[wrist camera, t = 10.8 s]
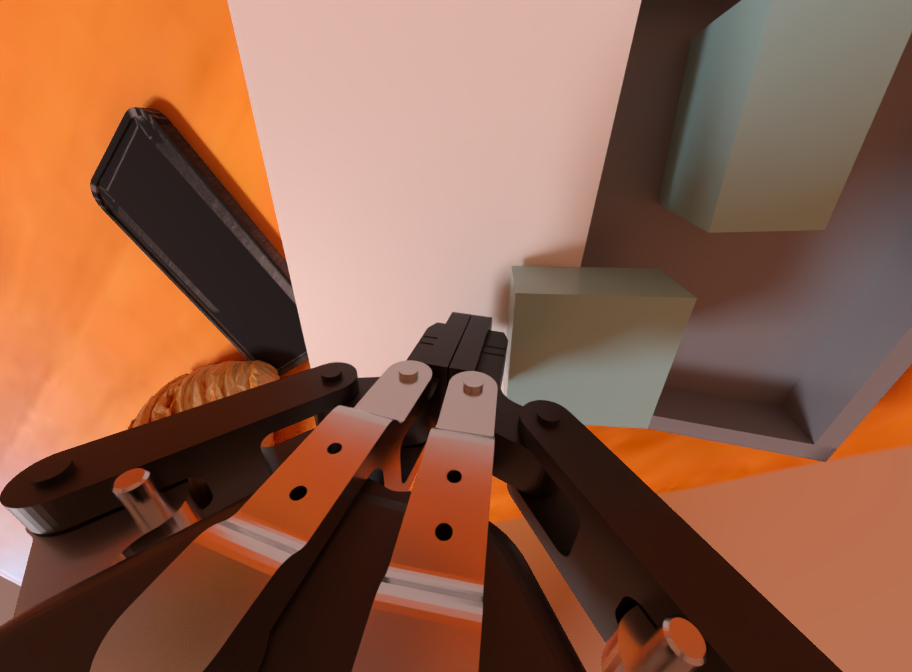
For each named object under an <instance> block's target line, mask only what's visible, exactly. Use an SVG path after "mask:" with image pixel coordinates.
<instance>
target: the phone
mask: <svg viewBox="0 0 912 672" xmlns="http://www.w3.org/2000/svg"><path fill="white" fill-rule="evenodd" d="M90 186H91V191H92V194H93V197H94V198H95V200H96V202H97V203H98V205H99V206H100V207H101V208H102V209H103V211H104V212H105V213H106V214H107V215H108V216H109V217H110V218H111V219H112V220H113V221H114V222H115V223H116V224H117V225H118V226H119V227H120V228H121V229H122V230H123V231H124V232H125V233H126V234H127V235H128V236H129V237H130V238H131V239H132V240H133V242H134V243H135V244H136V245H137V246H138V247H139V248H140V249H141V250H142V251H143V252H144V253H145V254H146V255H147V256H148V257H149V258H150V259H151V260H152V261H153V262H154V263H155V264H156V265H157V266H158V267H159V268H160V269H161V270H162V271H163V273H164V274H165V275H166V276H167V277H168V278H169V279H170V280H171V281H172V282H173V283H174V284H175V285H176V286H177V287H178V288H179V289H180V290H181V291H182V292H183V293H184V294H185V295H186V296H187V297H188V298H189V299H190V300H191V302H192V303H193V304H194V305H195V306H196V307H197V308H198V309H199V310H200V311H201V312H202V313H203V314H204V315H205V316H206V317H207V318H208V319H209V320H210V321H211V322H212V323H213V324H214V325H215V326H216V327H217V328H218V329H219V330H220V332H221V333H222V334H223V335H224V336H225V337H226V338H227V339H228V340H229V341H230V342H231V343H232V344H233V345H234V346H235V347H236V348H237V349H238V350H239V351H240V352H241V353H242V354H243V355H244V356H245V357H246V358H247V359H248V360H249V361H255V360H260V361H263V362H266V363H268V364H270V365H271V366H273V367H274V368H276V369H277V371H278V375H279V376H281V375H283V374H284V373H286V372H288V371H289V370H291V369H293V368H294V367H296V366H298V365H299V364H301V363H303V362H304V361H306V360H308V359H309V358H308V354H307V349H306V345H305V341H304V336H303V332H302V327H301V323H300V319H299V314H298V310H297V305H296V301H295V297H294V292H293V288H292V283H291V279H290V274H289V270H288V266H287V262H286V261H285V260H284V259H283V258H282V256H281V255H280V254H279V253H278V251H277V250H276V249H275V248H274V247H273V245H272V244H271V243H270V242H269V241H268V239H267V238H266V237H265V236H264V235H263V233H262V232H261V231H260V230H259V228H258V227H257V226H256V225H255V224H254V222H253V221H252V220H251V219H250V218H249V216H248V215H247V214H246V213H245V212H244V210H243V209H242V208H241V207H240V205H239V204H238V203H237V202H236V201H235V199H234V198H233V197H232V196H231V195H230V193H229V192H228V191H227V190H226V189H225V187H224V186H223V185H222V184H221V182H220V181H219V180H218V179H217V178H216V176H215V175H214V174H213V173H212V172H211V170H210V169H209V168H208V167H207V166H206V164H205V163H204V162H203V161H202V159H201V158H200V157H199V156H198V155H197V153H196V152H195V151H194V150H193V149H192V147H191V146H190V145H189V144H188V143H187V141H186V140H185V139H184V138H183V136H182V135H181V134H180V133H179V132H178V130H177V129H176V128H175V127H174V126H173V124H172V123H171V122H170V121H169V120H168V119H167V118H166V117H165V116H164V115H163V114H162V113H160V112H159V111H157V110H154V109H149V108H137V107H134V108H130V109H128V110H127V112H126V113H125V115H124V117H123V118H122V120H121V122H120V124H119V126H118V128H117V130H116V132H115V134H114V136H113V138H112V140H111V142H110V144H109V146H108V148H107V150H106V152H105V154H104V156H103V158H102V160H101V162H100V163H99V165H98V167H97V169H96V171H95V173H94V175H93V177H92V179H91V183H90Z"/></svg>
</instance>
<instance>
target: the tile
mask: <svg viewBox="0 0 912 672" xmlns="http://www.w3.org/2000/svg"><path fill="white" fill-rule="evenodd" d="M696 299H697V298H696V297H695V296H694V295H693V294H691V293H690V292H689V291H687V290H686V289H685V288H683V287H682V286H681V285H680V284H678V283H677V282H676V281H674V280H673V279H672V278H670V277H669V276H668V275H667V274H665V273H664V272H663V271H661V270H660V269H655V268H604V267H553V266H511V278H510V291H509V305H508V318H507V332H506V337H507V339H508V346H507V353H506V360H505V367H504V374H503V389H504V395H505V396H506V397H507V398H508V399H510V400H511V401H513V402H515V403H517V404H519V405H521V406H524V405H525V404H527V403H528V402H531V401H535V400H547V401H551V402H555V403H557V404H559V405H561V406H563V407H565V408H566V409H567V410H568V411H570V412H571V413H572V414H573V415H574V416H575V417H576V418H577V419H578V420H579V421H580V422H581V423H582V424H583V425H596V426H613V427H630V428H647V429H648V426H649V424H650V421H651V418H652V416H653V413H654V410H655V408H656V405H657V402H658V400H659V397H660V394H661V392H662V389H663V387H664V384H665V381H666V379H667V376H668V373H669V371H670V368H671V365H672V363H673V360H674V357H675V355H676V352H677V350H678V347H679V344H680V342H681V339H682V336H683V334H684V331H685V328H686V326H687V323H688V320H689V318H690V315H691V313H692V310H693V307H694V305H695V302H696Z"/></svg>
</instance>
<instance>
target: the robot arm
mask: <svg viewBox="0 0 912 672" xmlns="http://www.w3.org/2000/svg"><path fill="white" fill-rule="evenodd" d="M491 328H492V317H486V316H479V315H472V314H465V313H458V312H452V313H451V315H450V317H449V319H448V320H447V322H446V324H445V323H438V322H437V323H435V324H433V325H432V326H430V327H428V328H427V329H426V331H425V333H424V334H423V337H421V339H420V340H419V343H417V345H416V346H415V348H414V349H413V351H412V352H411V354H410V355H409V357H408V358H407V360H406V361H401V362H397V363H395V364H393V365H391V366H390V367H389V368H388V369H387V370H386V371H385V372H384V373H383V374H382V376H381V377H364V378H358V375H357V370H356V368H355V367H354V366H352V365H350V364H348V363H343V362H333V363H327V364H324V365H321V366H318V367H315V368H312V369H309V370H306V371H303V372H300V373H297V374H294V375H291V376H287V377H284V378H281V379H278V380H275V381H272V382H269V383H266V384H263V385H260V386H257V387H254V388H251V389H248V390H245V391H242V392H239V393H236V394H233V395H230V396H227V397H224V398H221V399H218V400H215V401H212V402H209V403H206V404H203V405H200V406H197V407H194V408H191V409H188V410H185V411H182V412H179V413H176V414H173V415H170V416H167V417H164V418H161V419H158V420H155V421H152V422H149V423H146V424H143V425H140V426H137V427H134V428H131V429H128V430H125V431H122V432H119V433H116V434H113V435H110V436H107V437H104V438H101V439H98V440H95V441H92V442H89V443H86V444H83V445H80V446H77V447H74V448H71V449H68V450H65V451H62V452H59V453H56V454H53V455H51V456H49V457H46V458H44V459H42V460H40V461H38V462H36V463H35V464H33V465H31V466H29V467H28V468H26V469H25V470H23V471H22V472H20V473H19V474H18V475H17V476H15V477H14V478H13V479H12V480H11V481H10V482H9V483H8V484H7V485H6V486H5V488H4V489H3V491H2V493H1V495H0V502H1V504H2V505H3V506H4V507H5V508H6V509H8V510H9V511H10V512H11V513H12V514H13V515H14V516H15V517H16V518H17V519H18V520H19V521H20V522H21V523H22V524H23V525H24V526H25V527H26V531H27V533H28V534H29V535H31V536H32V537H33V543H32V547H31V551H30V554H29V558H28V562H27V566H26V570H25V574H24V578H23V582H22V586H21V590H20V594H19V597H18V601H17V605H16V609H15V613H14V617H13V618H12V619H11V620H9V621H8V622H6V623H5V624H3V625H2V626H0V672H586V670H585V668H584V666H583V665H582V663H581V661H580V659H579V657H578V655H577V653H576V652H575V650H574V648H573V646H572V644H571V643H570V641H569V639H568V637H567V635H566V633H565V631H564V630H563V628H562V626H561V624H560V622H559V621H558V619H557V617H556V615H555V613H554V611H553V609H552V607H551V606H550V604H549V602H548V600H547V598H546V596H545V595H544V593H543V591H542V589H541V587H540V585H539V583H538V582H537V580H536V578H535V576H534V575H533V572H532V571H531V569H530V567H529V565H528V563H527V562H526V560H525V558H524V556H523V555H522V553H521V552H520V551H519V549H518V548H517V547H516V545H515V544H514V543H513V542H512V541H511V540H510V538H509V537H508V536H507V535H506V534H505V533H504V532H502V531H501V530H500V529H499V528H498V527H497V526H495V525H494V524H492V523H491V522H490V521H489V509H490V495H491V482H492V475H493V476H495V477H497V478H498V479H500V480H502V481H504V482H506V483H507V488H508V491H509V494H510V495H511V497H512V499H513V500H514V502H515V503H516V505H517V506H518V508H519V510H520V511H521V513H522V514H523V516H524V517H525V519H526V520H527V522H528V523H529V525H530V527H531V528H532V530H533V531H534V533H535V534H536V536H537V537H538V539H539V540H540V542H541V544H542V545H543V546H544V548H545V550H546V551H547V553H548V554H549V556H550V558H551V559H552V561H553V562H554V564H555V565H556V567H557V568H558V570H559V571H560V573H561V575H562V576H563V578H564V579H565V581H566V582H567V584H568V585H569V587H570V588H571V590H572V592H573V593H574V594H575V596H576V598H577V599H578V601H579V602H580V604H581V606H582V607H583V608H584V610H585V612H586V613H587V615H588V616H589V618H590V619H591V621H592V622H593V624H594V626H595V627H596V629H597V630H598V632H599V633H600V635H601V636H602V638H603V639H604V641H605V643H606V644H605V645H604V648H603V651H602V656H601V670H602V672H842V671H841V670H840V669H839V668H838V667H837V666H836V665H835V664H834V663H833V662H832V661H831V660H830V659H829V658H828V657H827V656H826V655H825V654H824V653H823V652H821V651H820V650H819V649H818V648H817V647H816V646H815V645H814V644H813V643H812V642H811V641H810V640H809V639H808V638H807V637H806V636H805V635H804V634H803V633H801V632H800V631H799V630H798V629H797V628H796V627H795V626H794V625H793V624H792V623H791V622H790V621H789V620H788V619H787V618H786V617H785V616H784V615H783V614H781V613H780V612H779V611H778V610H777V609H776V608H775V607H774V606H773V605H772V604H771V603H770V602H769V601H768V600H767V599H766V598H765V597H764V596H763V595H762V594H761V593H759V592H758V591H757V590H756V589H755V588H754V587H753V586H752V585H751V584H750V583H749V582H748V581H747V580H746V579H745V578H744V577H743V576H742V575H741V574H740V573H738V572H737V571H736V570H735V569H734V568H733V567H732V566H731V565H730V564H729V563H728V562H727V561H726V560H725V559H724V558H723V557H722V556H721V555H720V554H719V553H718V552H716V551H715V550H714V549H713V548H712V547H711V546H710V545H709V544H708V543H707V542H706V541H705V540H704V539H703V538H702V537H701V536H700V535H699V534H698V533H696V532H695V531H694V530H693V529H692V528H691V527H690V526H689V525H688V524H687V523H686V522H685V521H684V520H683V519H682V518H681V517H680V516H679V515H678V514H677V513H676V512H674V511H673V510H672V509H671V508H670V507H669V506H668V505H667V504H666V503H665V502H664V501H663V500H662V499H661V498H660V497H659V496H658V495H657V494H656V493H655V492H653V491H652V490H651V489H650V488H649V487H648V486H647V485H646V484H645V483H644V482H643V481H642V480H641V479H640V478H639V477H638V476H637V475H636V474H635V473H634V472H632V471H631V470H630V469H629V468H628V467H627V466H626V465H625V464H624V463H623V462H622V461H621V460H620V459H619V458H618V457H617V456H616V455H615V454H614V453H613V452H611V451H610V450H609V449H608V448H607V447H606V446H605V445H604V444H603V443H602V442H601V441H600V440H599V439H598V438H597V437H596V436H595V435H594V434H593V433H592V432H591V431H589V430H588V429H587V428H586V427H585V426H584V425H583V424H582V423H581V422H580V421H579V420H578V419H577V418H576V417H575V416H574V415H573V414H572V413H571V412H570V411H568V410H567V409H566V408H565V407H563V406H561V405H559V404H557V403H555V402H551V401H547V400H535V401H531V402H528V403H527V404H525V405H524V406H521V405H519V404H517V403H515V402H513V401H511V400H510V399H508V398H507V397H506V396H505V395H504V394H503V392H502V391H501V385H502V380H503V374H504V367H505V360H506V353H507V346H508V339H507V337H506V335H505V333H504V332H498V331H491ZM312 416H314V417H315V421H316V426H317V427H316V428H314V429H312V430H309V431H307V432H305V433H302V434H300V435H298V436H296V437H293V438H291V439H289V440H286V441H284V442H282V443H279V444H277V445H275V446H272V447H263V446H261V443H262V441H263V440H264V438H265V437H266V436H268V435H269V434H271V433H273V432H275V431H278V430H280V429H283V428H285V427H287V426H290V425H292V424H295V423H297V422H300V421H302V420H304V419H307V418H309V417H312ZM436 425H437V426H436ZM435 426H436V428H435ZM416 474H417V475H416ZM415 476H416V479H415V482H414V485H413V489H412V491H408V490H409V488H410V486H411V484H412V482H413V480H414V478H415Z"/></svg>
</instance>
